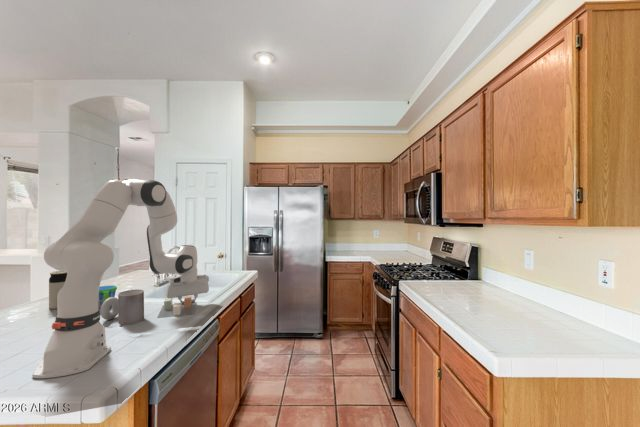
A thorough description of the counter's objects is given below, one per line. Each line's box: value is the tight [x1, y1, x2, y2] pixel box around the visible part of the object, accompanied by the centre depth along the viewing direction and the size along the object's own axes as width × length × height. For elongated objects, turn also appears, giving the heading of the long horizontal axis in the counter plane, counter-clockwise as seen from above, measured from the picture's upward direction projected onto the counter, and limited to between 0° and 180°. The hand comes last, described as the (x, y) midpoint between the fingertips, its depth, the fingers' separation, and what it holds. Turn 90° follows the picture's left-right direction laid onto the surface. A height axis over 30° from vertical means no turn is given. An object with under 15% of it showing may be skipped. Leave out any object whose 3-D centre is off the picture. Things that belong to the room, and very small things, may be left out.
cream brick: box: [173, 302, 181, 317], centre depth 145 cm, size 6×3×4 cm, turn 20°
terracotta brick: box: [183, 295, 192, 308], centre depth 156 cm, size 6×3×4 cm, turn 20°
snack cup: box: [98, 285, 118, 310], centre depth 157 cm, size 16×10×10 cm
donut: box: [99, 296, 118, 321], centre depth 140 cm, size 10×4×10 cm, turn 175°
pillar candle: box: [117, 288, 145, 328], centre depth 135 cm, size 10×10×15 cm
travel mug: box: [48, 270, 67, 310], centre depth 157 cm, size 8×8×18 cm
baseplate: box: [156, 301, 197, 319], centre depth 150 cm, size 20×16×1 cm
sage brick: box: [163, 297, 173, 310], centre depth 153 cm, size 6×3×4 cm, turn 20°
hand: (187, 304), depth 156 cm, fingers open, 4 cm apart
